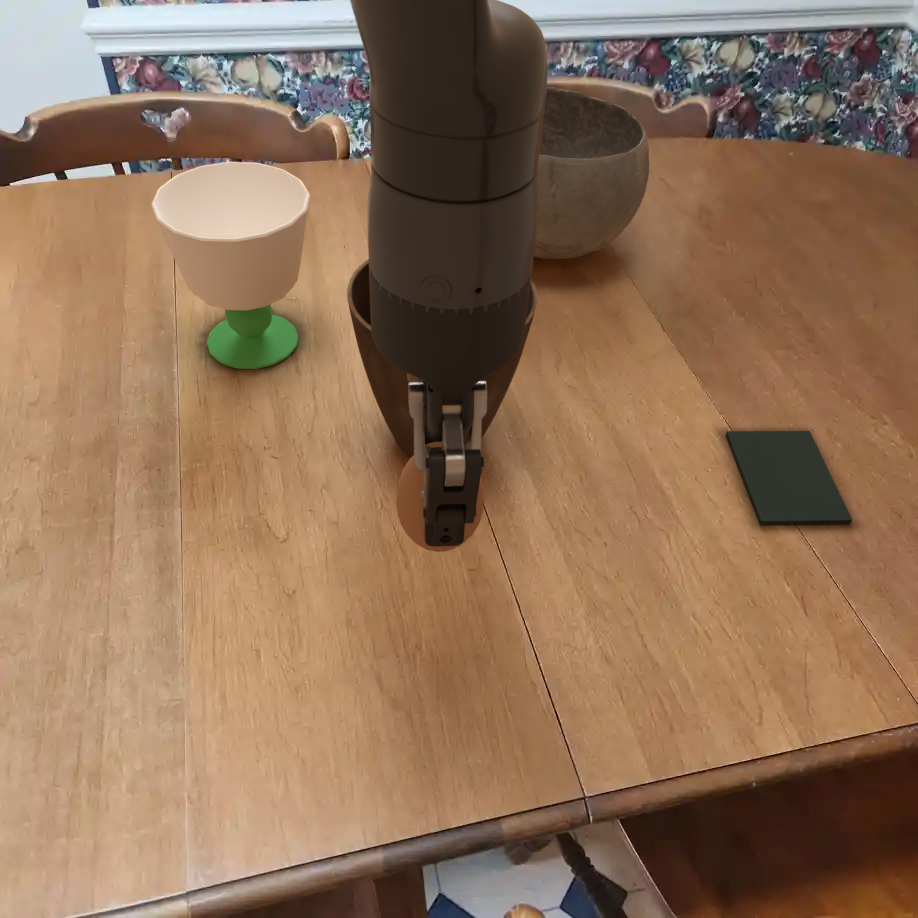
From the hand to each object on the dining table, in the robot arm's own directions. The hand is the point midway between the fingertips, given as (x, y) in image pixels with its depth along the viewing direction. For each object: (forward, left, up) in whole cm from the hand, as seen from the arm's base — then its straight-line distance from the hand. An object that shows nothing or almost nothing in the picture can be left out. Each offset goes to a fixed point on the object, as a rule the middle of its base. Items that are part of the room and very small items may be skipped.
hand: (440, 502), depth 52 cm
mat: (+18, -32, -17) cm, 41 cm away
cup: (+37, +17, -17) cm, 44 cm away
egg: (0, 0, -4) cm, 4 cm away
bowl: (+56, -15, -17) cm, 61 cm away
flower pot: (+23, -1, -17) cm, 29 cm away
